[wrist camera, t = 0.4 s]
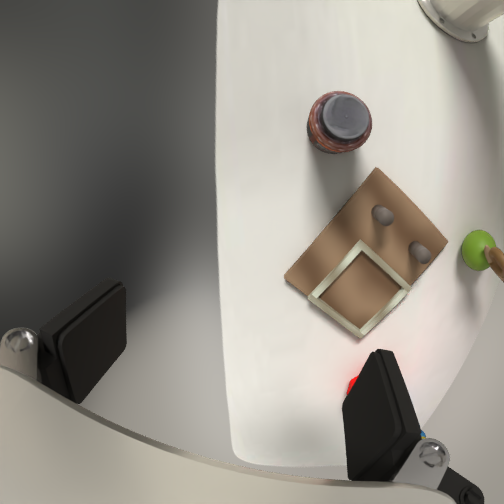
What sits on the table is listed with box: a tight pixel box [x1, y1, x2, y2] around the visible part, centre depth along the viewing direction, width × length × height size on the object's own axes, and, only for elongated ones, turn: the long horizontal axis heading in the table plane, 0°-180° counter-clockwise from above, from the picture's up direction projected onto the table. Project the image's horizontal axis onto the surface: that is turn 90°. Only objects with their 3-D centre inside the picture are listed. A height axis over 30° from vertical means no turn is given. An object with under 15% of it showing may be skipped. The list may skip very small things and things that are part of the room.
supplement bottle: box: [307, 91, 372, 154], centre depth 27 cm, size 6×6×11 cm
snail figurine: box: [462, 230, 504, 282], centre depth 27 cm, size 5×6×12 cm
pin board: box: [284, 167, 448, 339], centre depth 34 cm, size 18×14×5 cm
